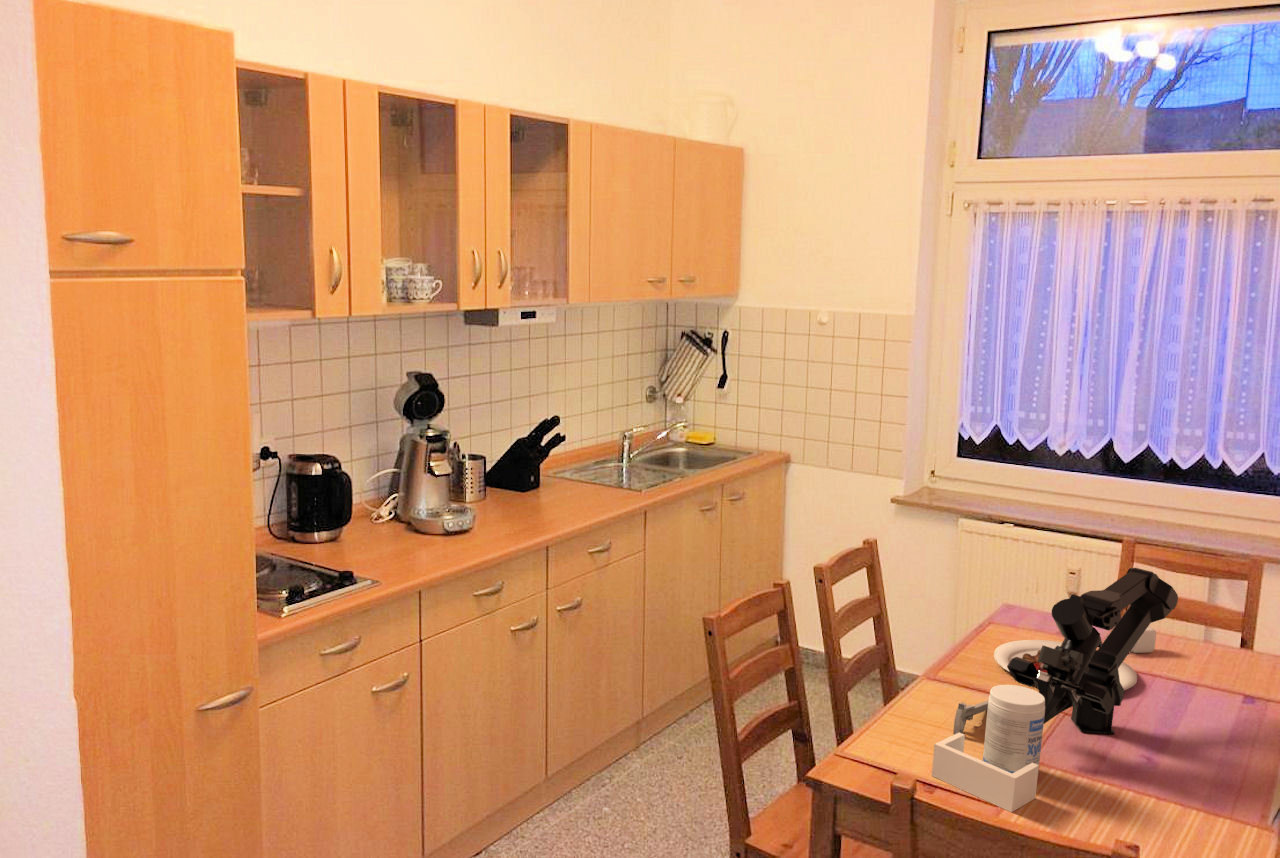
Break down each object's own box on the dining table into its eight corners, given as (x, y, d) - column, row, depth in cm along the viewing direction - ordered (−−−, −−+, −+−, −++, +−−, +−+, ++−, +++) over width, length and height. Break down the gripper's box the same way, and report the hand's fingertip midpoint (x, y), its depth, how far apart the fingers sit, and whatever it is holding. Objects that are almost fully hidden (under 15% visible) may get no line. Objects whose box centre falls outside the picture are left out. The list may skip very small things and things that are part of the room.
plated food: (1145, 667, 243) (1147, 653, 243) (1124, 712, 218) (1126, 696, 218) (1011, 638, 259) (1012, 624, 259) (977, 676, 234) (979, 661, 234)
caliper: (958, 738, 203) (961, 706, 202) (952, 736, 204) (955, 705, 203) (997, 705, 219) (1000, 675, 218) (992, 703, 220) (995, 674, 219)
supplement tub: (1037, 790, 184) (1046, 710, 181) (979, 778, 187) (987, 699, 185) (1038, 766, 193) (1046, 689, 190) (983, 755, 196) (991, 679, 194)
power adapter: (1115, 656, 249) (1118, 632, 248) (1102, 648, 254) (1105, 625, 253) (1156, 654, 252) (1159, 630, 251) (1142, 646, 256) (1145, 623, 255)
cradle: (956, 763, 192) (959, 732, 191) (1035, 798, 181) (1038, 765, 180) (931, 775, 187) (934, 743, 186) (1011, 812, 176) (1015, 778, 175)
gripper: (1017, 615, 202) (980, 684, 197) (1114, 645, 189) (1076, 719, 183) (1034, 646, 209) (998, 713, 203) (1128, 677, 195) (1093, 750, 190)
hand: (1039, 723), depth 195 cm, fingers closed
